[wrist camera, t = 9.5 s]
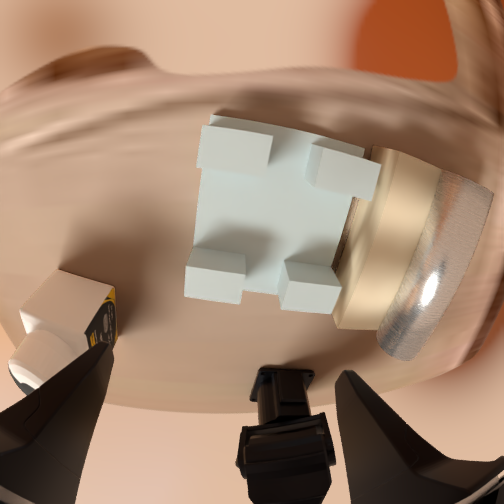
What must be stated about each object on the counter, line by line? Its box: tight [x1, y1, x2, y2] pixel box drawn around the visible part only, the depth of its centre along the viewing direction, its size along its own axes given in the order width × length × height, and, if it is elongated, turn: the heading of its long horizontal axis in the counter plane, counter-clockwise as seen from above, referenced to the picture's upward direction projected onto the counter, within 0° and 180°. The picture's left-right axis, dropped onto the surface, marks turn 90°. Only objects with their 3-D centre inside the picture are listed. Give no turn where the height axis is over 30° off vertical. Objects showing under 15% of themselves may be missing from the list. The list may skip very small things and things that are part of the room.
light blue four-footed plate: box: [184, 115, 381, 314], centre depth 19 cm, size 13×11×4 cm
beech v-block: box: [331, 145, 442, 330], centre depth 20 cm, size 14×11×4 cm
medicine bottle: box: [8, 269, 118, 395], centre depth 18 cm, size 7×7×12 cm
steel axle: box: [376, 169, 494, 361], centre depth 16 cm, size 14×4×4 cm, turn 170°
